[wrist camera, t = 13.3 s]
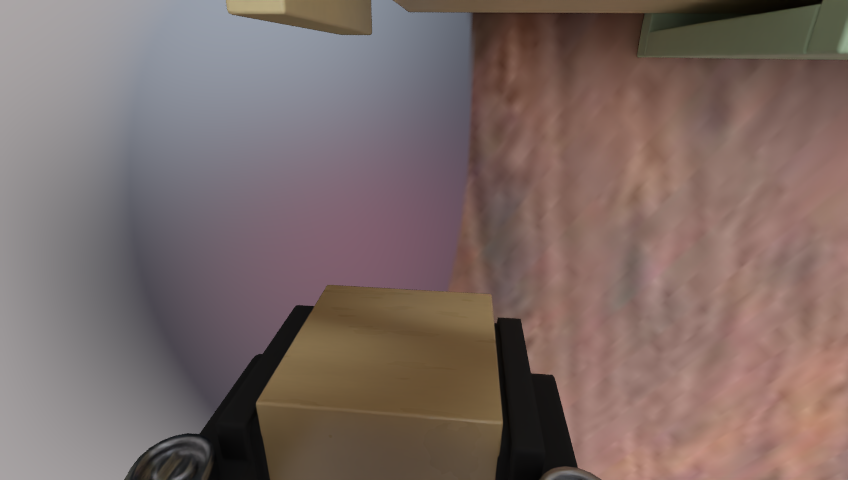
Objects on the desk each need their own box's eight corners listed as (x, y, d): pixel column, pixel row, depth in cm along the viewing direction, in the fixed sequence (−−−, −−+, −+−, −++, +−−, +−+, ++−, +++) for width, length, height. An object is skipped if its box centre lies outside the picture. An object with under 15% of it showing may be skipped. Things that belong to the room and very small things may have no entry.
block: (337, 409, 12) (282, 560, 9) (327, 283, 11) (253, 402, 7) (481, 421, 12) (486, 582, 8) (491, 293, 11) (503, 423, 7)
